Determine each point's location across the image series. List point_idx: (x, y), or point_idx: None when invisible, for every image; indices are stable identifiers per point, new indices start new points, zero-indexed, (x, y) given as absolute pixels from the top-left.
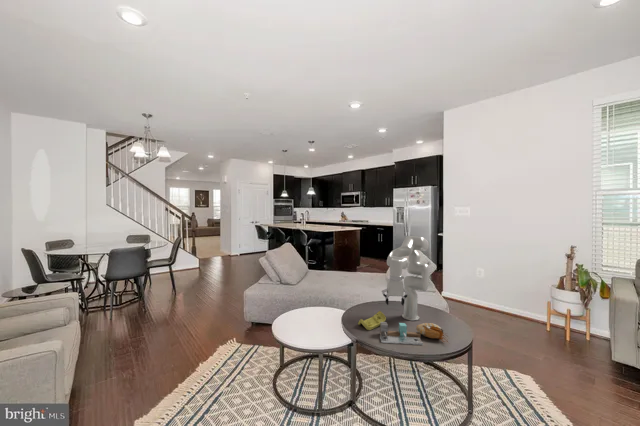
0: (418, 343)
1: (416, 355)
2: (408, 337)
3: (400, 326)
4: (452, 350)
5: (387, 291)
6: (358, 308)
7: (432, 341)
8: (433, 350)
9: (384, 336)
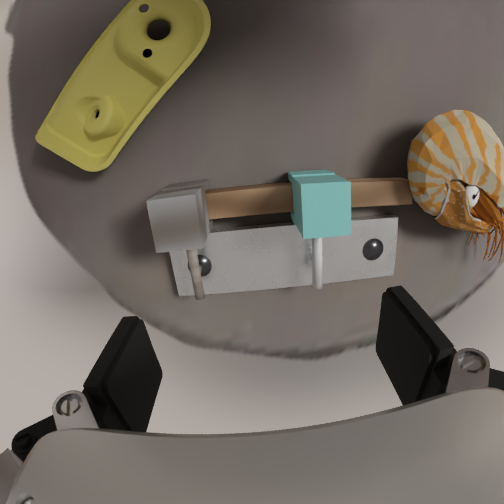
0: (372, 276)
1: (330, 356)
2: None
3: (303, 237)
4: (472, 284)
5: (29, 465)
6: None
7: None
8: None
9: None
